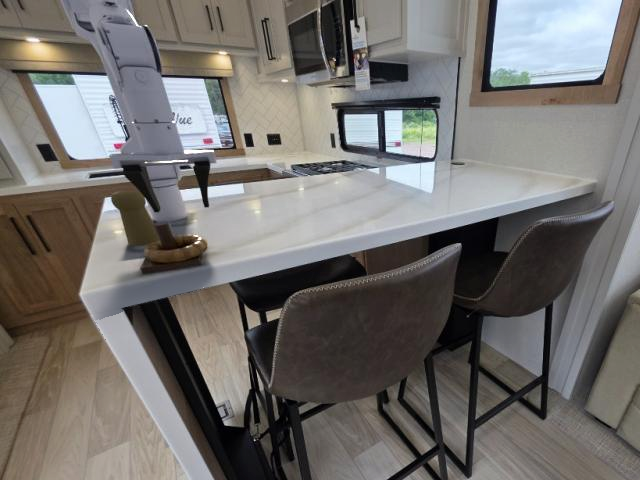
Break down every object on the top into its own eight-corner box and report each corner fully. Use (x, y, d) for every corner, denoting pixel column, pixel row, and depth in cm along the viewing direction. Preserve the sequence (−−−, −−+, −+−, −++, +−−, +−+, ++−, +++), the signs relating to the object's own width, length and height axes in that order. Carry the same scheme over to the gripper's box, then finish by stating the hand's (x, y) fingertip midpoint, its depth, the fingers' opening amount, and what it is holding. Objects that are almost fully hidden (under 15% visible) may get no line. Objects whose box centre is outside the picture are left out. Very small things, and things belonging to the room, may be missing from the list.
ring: (151, 248, 64) (147, 237, 63) (209, 240, 67) (206, 230, 66) (142, 268, 56) (137, 257, 55) (207, 259, 60) (204, 247, 59)
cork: (170, 243, 69) (150, 189, 64) (139, 253, 65) (114, 196, 59) (155, 238, 72) (134, 186, 66) (123, 247, 67) (98, 192, 62)
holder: (151, 255, 64) (135, 219, 60) (203, 248, 67) (191, 213, 63) (142, 274, 57) (125, 234, 53) (201, 265, 60) (188, 227, 56)
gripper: (88, 124, 46) (129, 219, 53) (205, 123, 51) (227, 209, 58) (102, 121, 51) (137, 208, 58) (206, 120, 57) (227, 200, 64)
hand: (182, 208), depth 59 cm, fingers open, 7 cm apart
